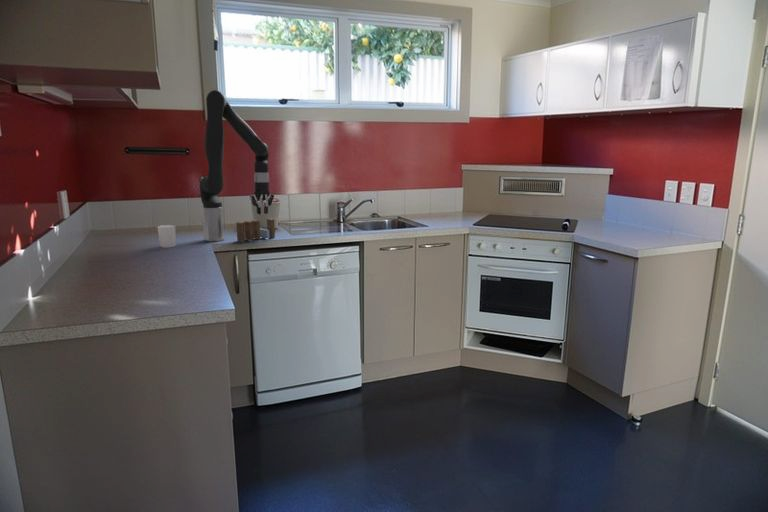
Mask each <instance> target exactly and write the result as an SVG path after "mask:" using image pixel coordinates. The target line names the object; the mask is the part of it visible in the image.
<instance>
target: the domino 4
mask: <svg viewBox="0 0 768 512" xmlns="http://www.w3.org/2000/svg"><path fill="white" fill-rule="evenodd" d="M260 237H262V238H270V236H269V230H266V229H261V228H260ZM262 238H261V239H262ZM270 239H271V238H270Z"/></svg>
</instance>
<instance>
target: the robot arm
mask: <svg viewBox="0 0 768 512" xmlns="http://www.w3.org/2000/svg"><path fill="white" fill-rule="evenodd" d="M206 112H207V113H206V114H207V115H206V126H205V136H204V152H205V155H206V156H205V157H206V160H207V164H208V173H207V174H208V175H205V176H203V177H202V178H201V179H200V183H199V190H200V193H199V194H200V199H201V203H202V207H203V221H202V230H203V231H202V232H203V240H204V241H206V242H220V241H223V240H225V235H224V234H225V233H224V232H225V231H224V220H223V219H224V218H223V204H222V201H221V200H220V198H219V194H221V192H222V191H223V189H224V174H223V173H224V171H223V169H224V168H223V165H224V164H223V163H224V150H225V132H224V123H223V122H224V121H223V119H225V121H227V123H228V124H229V125H230V126H231V127H232V129H233V130H234V131H235V133H236V134H237V135H238V136H239V137H240V139H242V140H243V141H244V142H245V143H246V144H247V146H248V147H249V148H250V149H251V151H252V153H254V154H255V155H254V156H255V159H254V160H255V161H254V179H253V181H254V182H253V183H254V185H253V186H254V193H253V194H251V195H249V199H250V201H252V204H253V206H256V207H257V213H258V214H261V207H260V206H261V202H262V201H263V203H264V206H265V207H264V214H267V213H268V206H270V205H271V204H272V201H273V198H275V195H274V194H271V192H270V176H269V154H270V153H269V146H268V145H267V143H265V142H263V141H262V140H261V139H260V137H259V136H258V135H257V133H256V132H255V131H254V130H253V129H252V128H251V126H250V125H249V124H248V123H247V122H246V121H245V120H244V119H242V118H241V117H240V115H238V114H237V112H236V111H235V110H234V109H233V107H232V106H231V104H230V103H229V102H228V100H227V98H226V96H225V94H223V92H221V91H220V90H217V89H216V90H215V89H214V90H211V91H210V92H208V93H207V95H206ZM256 198H257V199H256ZM268 198H269V199H268ZM255 199H256V200H255Z"/></svg>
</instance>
